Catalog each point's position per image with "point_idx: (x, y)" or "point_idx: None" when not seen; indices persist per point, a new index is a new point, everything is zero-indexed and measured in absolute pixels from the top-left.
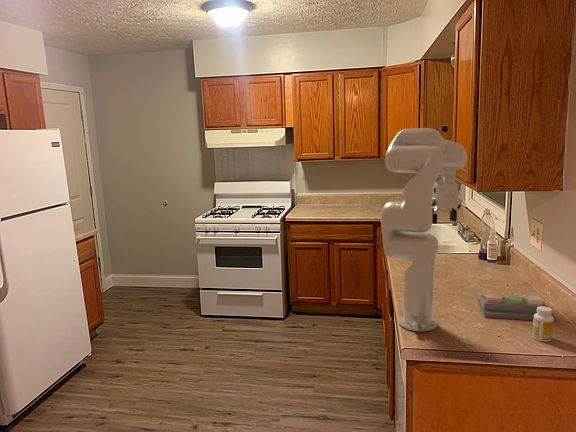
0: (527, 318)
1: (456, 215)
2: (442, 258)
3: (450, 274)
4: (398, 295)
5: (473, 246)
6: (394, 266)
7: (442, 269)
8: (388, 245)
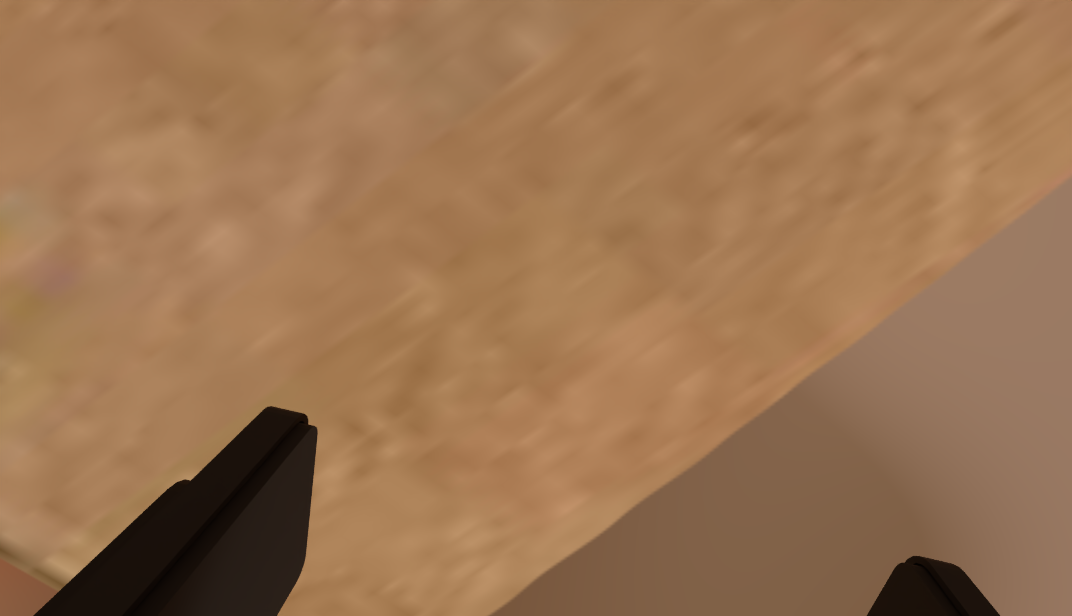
0: None
1: (174, 517)
2: None
3: (316, 336)
4: (898, 296)
5: None
6: (481, 604)
7: None
8: None
